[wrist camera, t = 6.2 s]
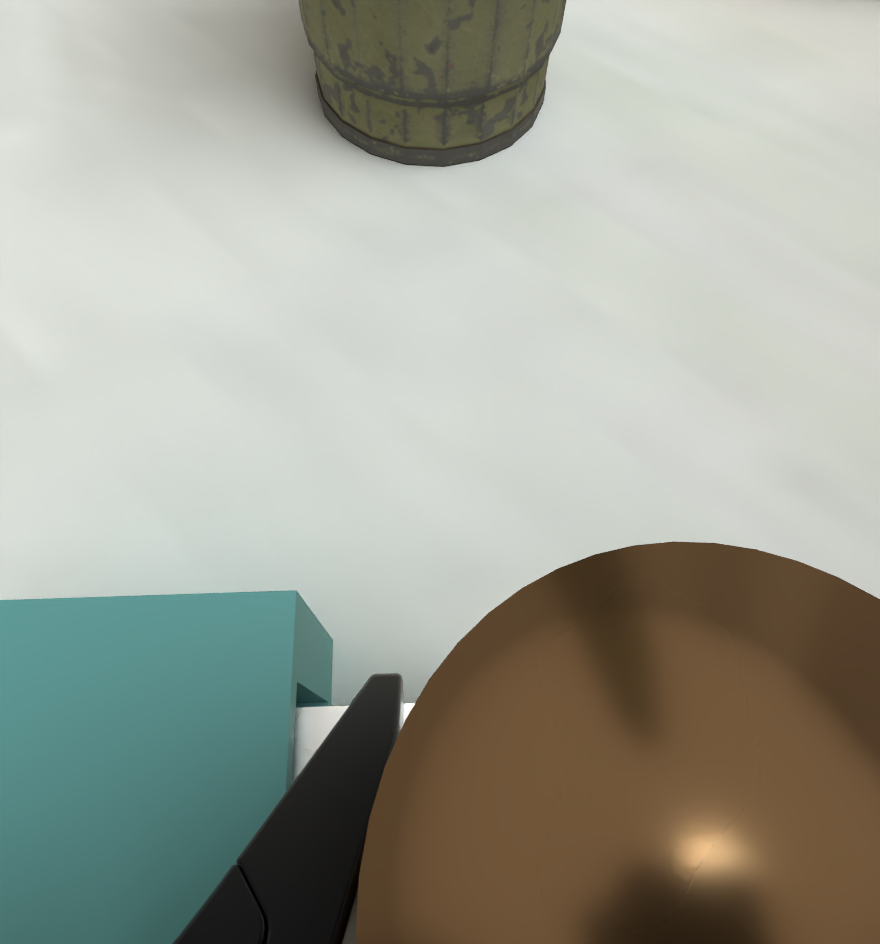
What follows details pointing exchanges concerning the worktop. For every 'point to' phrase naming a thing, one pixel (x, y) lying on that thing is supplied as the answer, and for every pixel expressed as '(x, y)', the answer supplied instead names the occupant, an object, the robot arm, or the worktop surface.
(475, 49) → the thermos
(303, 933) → the robot arm
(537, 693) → the bronze post on bar
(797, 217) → the worktop surface
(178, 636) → the socket
